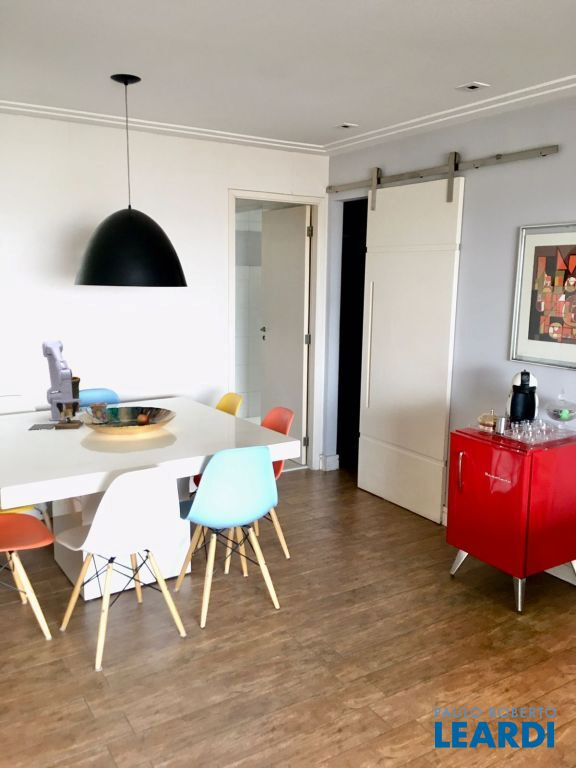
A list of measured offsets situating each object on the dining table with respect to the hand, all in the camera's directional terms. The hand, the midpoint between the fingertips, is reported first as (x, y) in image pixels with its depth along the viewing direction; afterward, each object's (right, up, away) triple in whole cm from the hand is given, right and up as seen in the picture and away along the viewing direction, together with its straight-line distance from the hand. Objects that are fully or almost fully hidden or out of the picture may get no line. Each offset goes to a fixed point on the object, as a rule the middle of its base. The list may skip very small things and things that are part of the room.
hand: (68, 416), depth 357 cm
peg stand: (0, -5, +1) cm, 5 cm away
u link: (0, 0, 0) cm, 0 cm away
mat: (-14, -6, +1) cm, 15 cm away
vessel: (-12, +1, +40) cm, 41 cm away
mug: (+14, -4, +7) cm, 16 cm away
